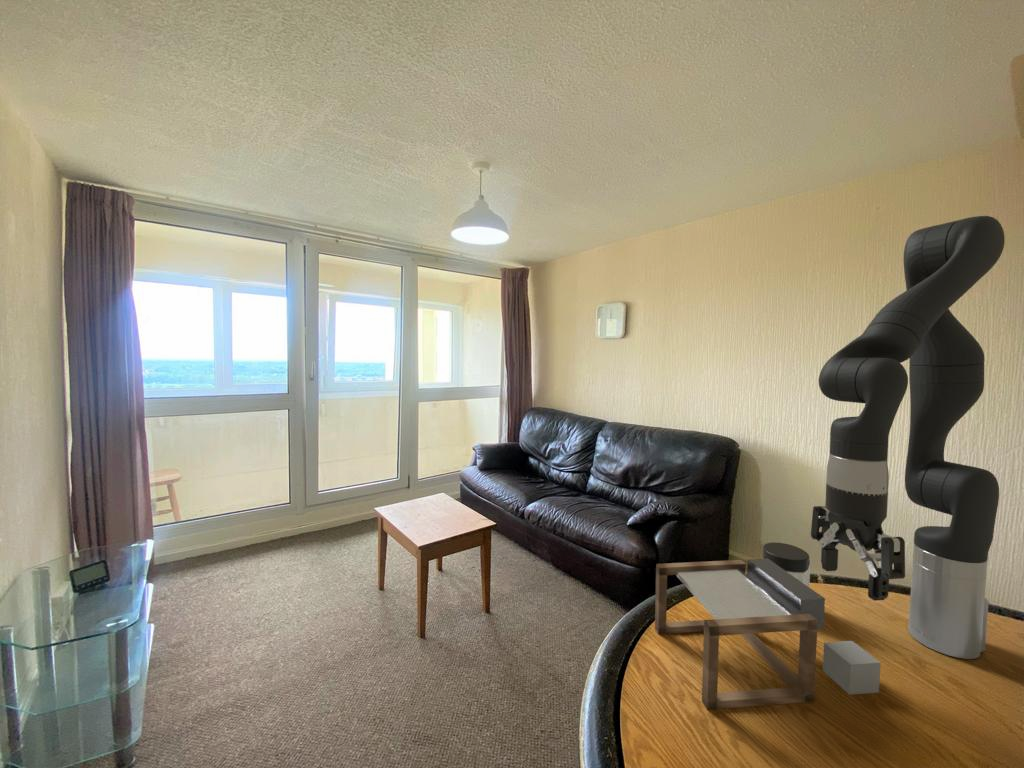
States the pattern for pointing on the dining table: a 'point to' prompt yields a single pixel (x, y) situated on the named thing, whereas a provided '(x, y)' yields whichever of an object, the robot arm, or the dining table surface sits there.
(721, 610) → the trapdoor
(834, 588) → the dining table surface
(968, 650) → the robot arm
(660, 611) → the frame
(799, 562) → the jar
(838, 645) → the gray cube
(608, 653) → the dining table surface
